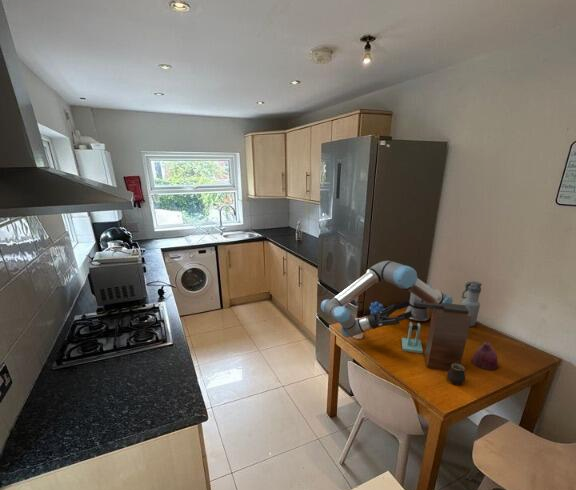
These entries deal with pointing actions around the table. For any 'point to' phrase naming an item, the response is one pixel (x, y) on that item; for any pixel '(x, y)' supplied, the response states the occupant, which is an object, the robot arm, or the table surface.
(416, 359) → the table surface
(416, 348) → the mounting bracket
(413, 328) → the black knobbed rod
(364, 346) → the table surface
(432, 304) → the spatula
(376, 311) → the grapes
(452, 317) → the shelf block
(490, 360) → the purple beanie hat
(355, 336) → the white cup
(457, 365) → the mate gourd
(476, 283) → the water bottle
